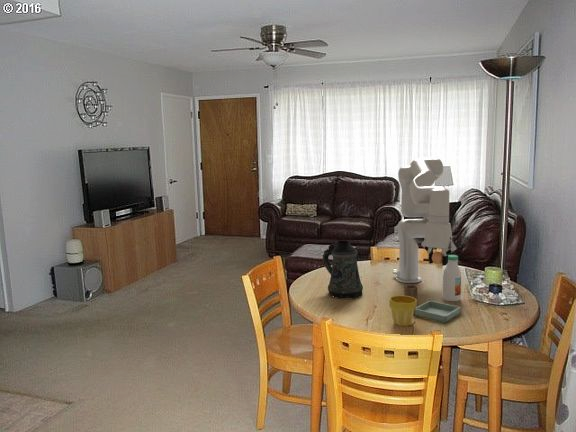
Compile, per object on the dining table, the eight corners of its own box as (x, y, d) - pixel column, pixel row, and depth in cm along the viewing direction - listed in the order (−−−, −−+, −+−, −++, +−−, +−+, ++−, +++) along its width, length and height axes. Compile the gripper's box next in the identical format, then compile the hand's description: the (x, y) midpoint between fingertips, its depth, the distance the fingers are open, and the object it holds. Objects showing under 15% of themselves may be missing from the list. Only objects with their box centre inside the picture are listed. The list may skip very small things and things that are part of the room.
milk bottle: (449, 302, 211) (450, 258, 208) (439, 297, 218) (440, 254, 215) (464, 300, 213) (465, 256, 210) (453, 295, 220) (455, 253, 217)
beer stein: (362, 299, 218) (361, 246, 214) (319, 298, 222) (318, 245, 218) (363, 289, 234) (363, 238, 230) (324, 287, 238) (323, 238, 234)
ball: (429, 264, 194) (429, 251, 193) (435, 261, 197) (435, 249, 197) (441, 265, 190) (441, 253, 190) (446, 263, 194) (446, 251, 193)
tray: (413, 315, 197) (413, 308, 197) (429, 306, 207) (429, 300, 207) (445, 323, 187) (445, 316, 187) (460, 313, 197) (461, 307, 197)
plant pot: (412, 317, 194) (412, 294, 193) (419, 327, 184) (420, 302, 183) (386, 318, 194) (386, 295, 193) (393, 328, 184) (393, 303, 182)
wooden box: (404, 302, 213) (404, 287, 212) (408, 300, 216) (408, 284, 215) (412, 304, 210) (412, 288, 209) (417, 301, 213) (417, 286, 212)
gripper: (414, 218, 195) (414, 262, 197) (455, 222, 183) (454, 269, 186) (423, 216, 200) (423, 259, 203) (463, 220, 188) (462, 265, 191)
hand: (438, 263), depth 194 cm, fingers closed on ball, 4 cm apart
